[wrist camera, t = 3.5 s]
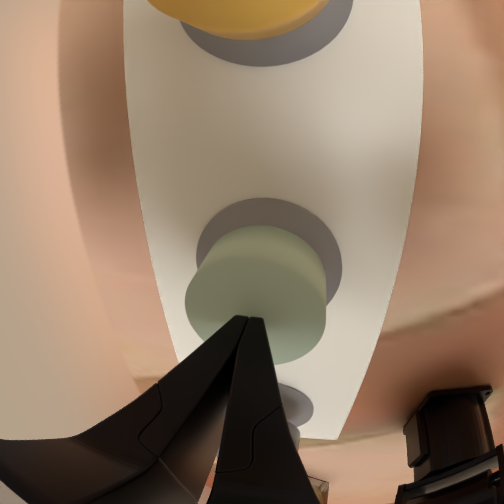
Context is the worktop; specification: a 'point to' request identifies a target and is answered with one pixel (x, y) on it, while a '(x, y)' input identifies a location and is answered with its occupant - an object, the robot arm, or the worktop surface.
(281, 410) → the robot arm
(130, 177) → the worktop surface
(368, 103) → the button panel
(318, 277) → the button sage
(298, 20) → the button amber
